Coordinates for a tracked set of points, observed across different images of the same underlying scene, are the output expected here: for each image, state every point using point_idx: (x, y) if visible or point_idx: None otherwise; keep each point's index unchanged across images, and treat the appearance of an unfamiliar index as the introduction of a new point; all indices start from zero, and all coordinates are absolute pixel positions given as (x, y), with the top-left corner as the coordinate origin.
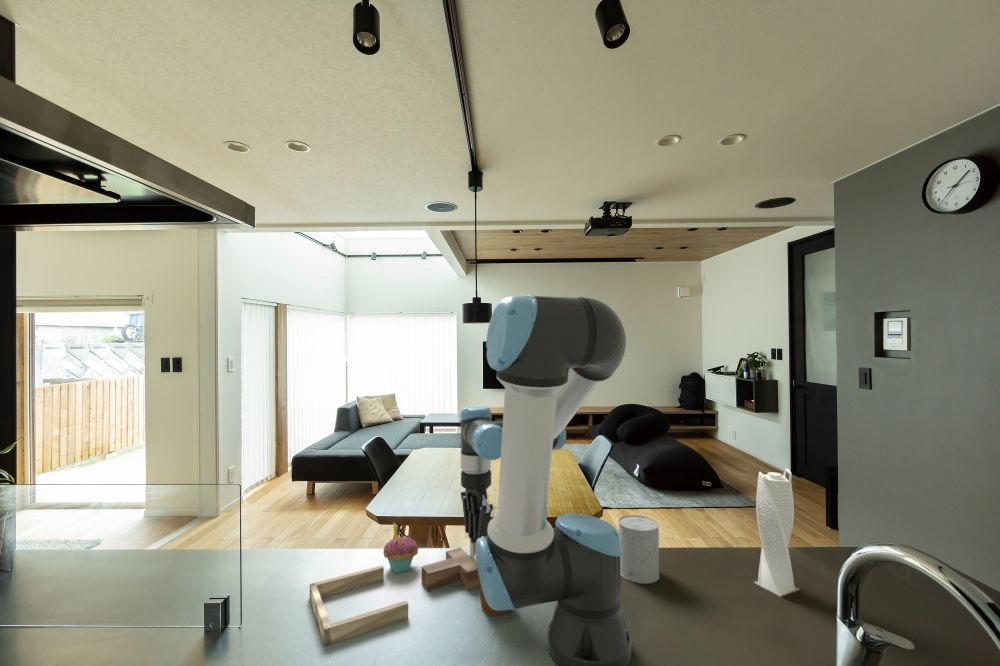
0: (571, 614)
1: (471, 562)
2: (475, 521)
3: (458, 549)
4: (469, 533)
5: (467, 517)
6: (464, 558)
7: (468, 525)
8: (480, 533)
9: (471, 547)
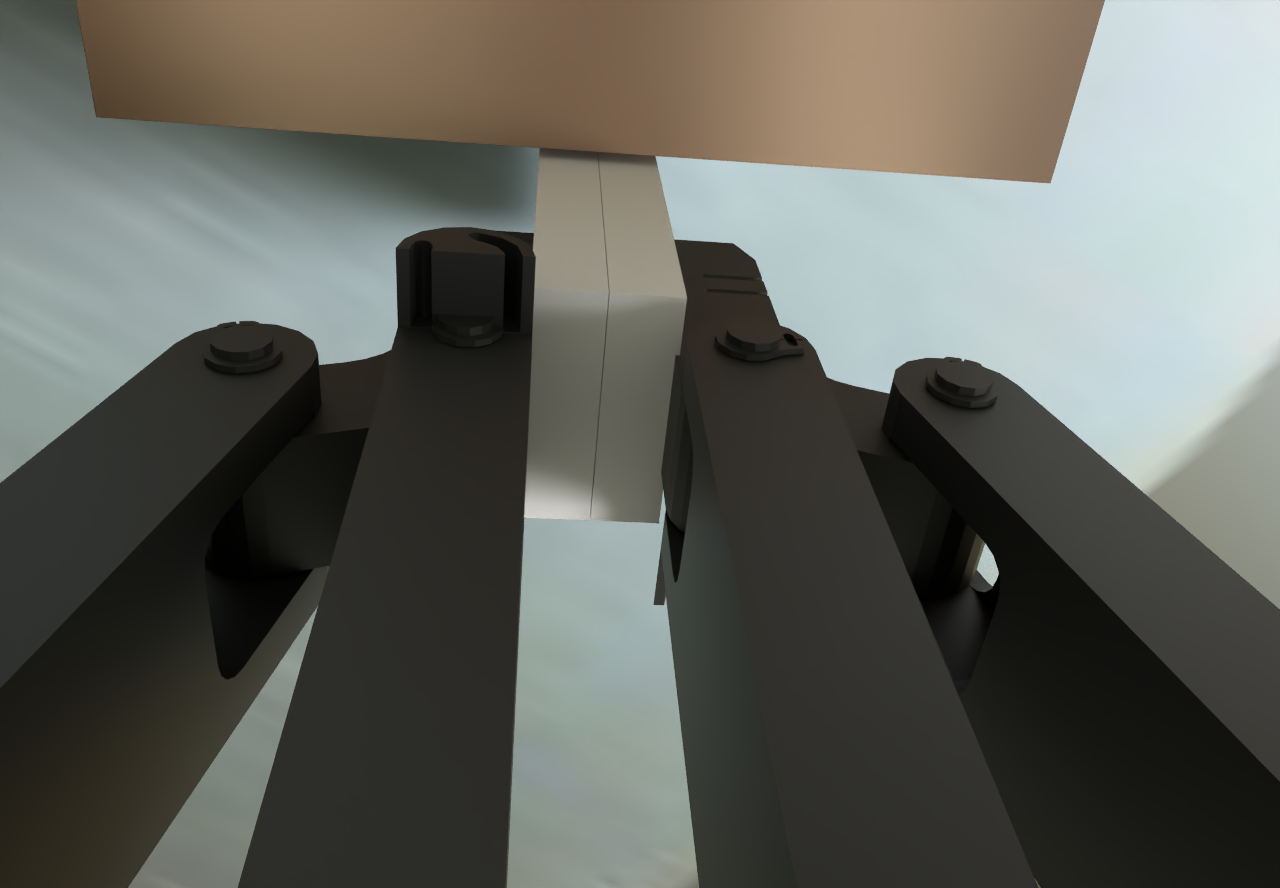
0: None
1: (392, 43)
2: (299, 705)
3: (1016, 113)
4: (759, 374)
5: (1103, 673)
6: (620, 13)
7: (866, 492)
8: (13, 489)
9: (598, 229)
